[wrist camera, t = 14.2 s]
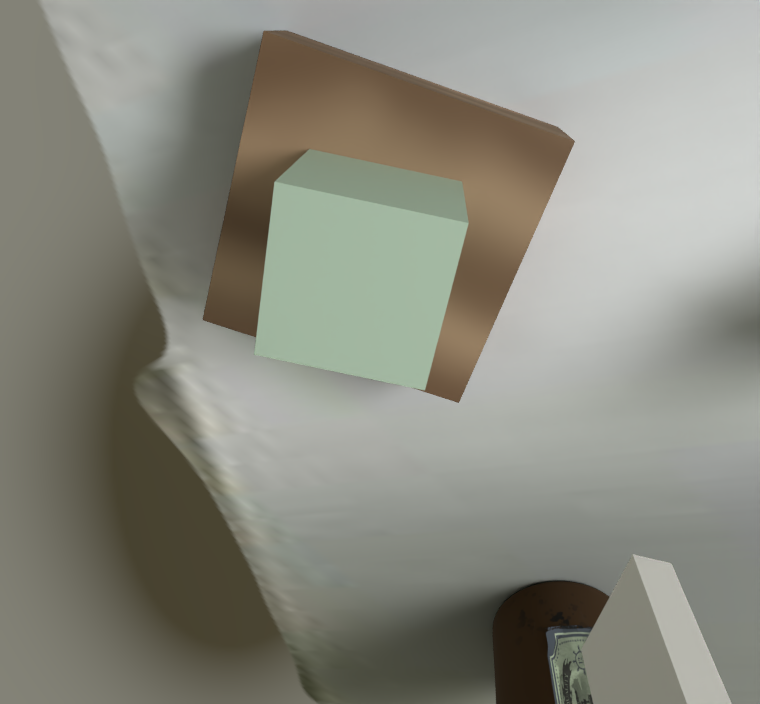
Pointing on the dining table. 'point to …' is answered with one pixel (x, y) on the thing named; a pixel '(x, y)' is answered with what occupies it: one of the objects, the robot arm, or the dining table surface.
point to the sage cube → (359, 267)
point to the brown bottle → (545, 643)
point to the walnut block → (397, 149)
